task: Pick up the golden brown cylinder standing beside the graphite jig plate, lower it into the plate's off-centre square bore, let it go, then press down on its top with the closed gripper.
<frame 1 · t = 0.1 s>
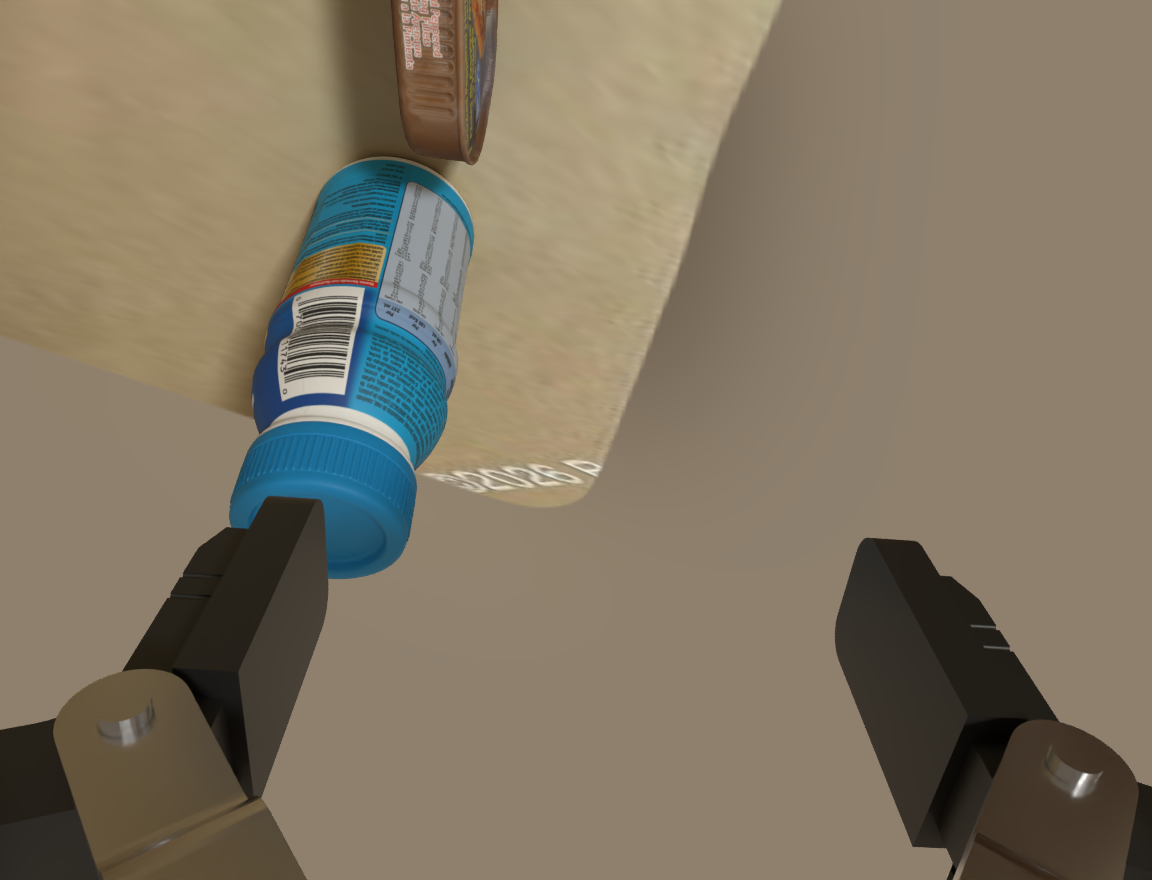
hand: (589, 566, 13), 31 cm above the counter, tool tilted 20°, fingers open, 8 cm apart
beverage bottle: (398, 218, 46), on the counter
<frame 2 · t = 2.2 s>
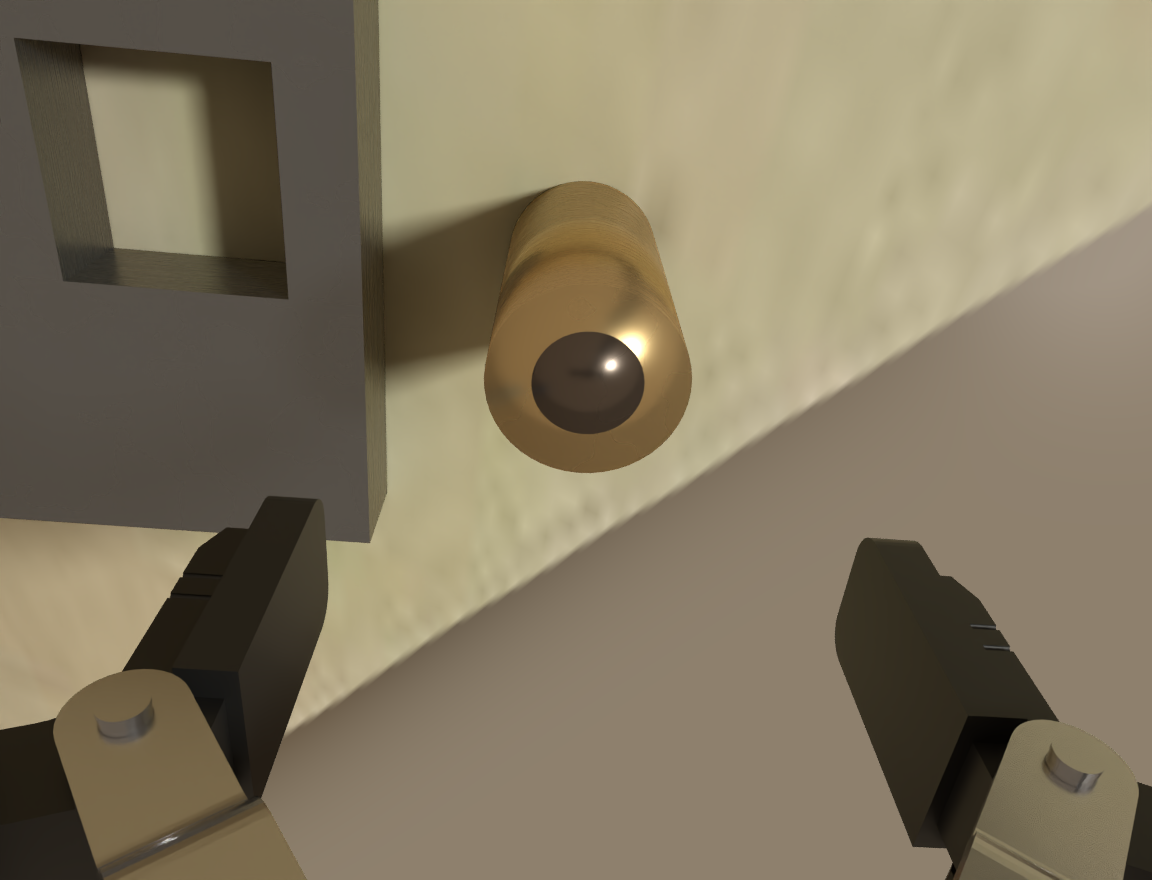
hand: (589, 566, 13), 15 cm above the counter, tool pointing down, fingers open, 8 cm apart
golden brown cylinder: (582, 255, 26), on the counter
jig: (113, 248, 26), on the counter
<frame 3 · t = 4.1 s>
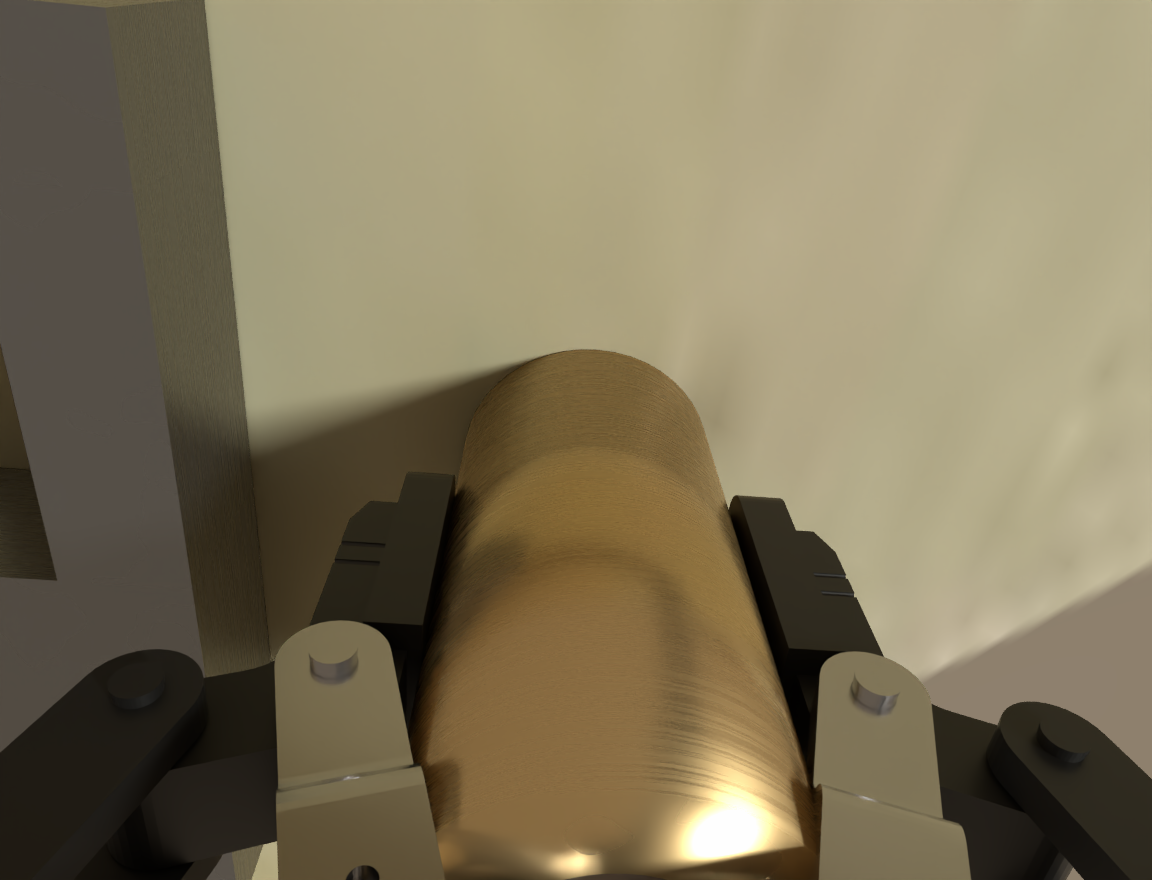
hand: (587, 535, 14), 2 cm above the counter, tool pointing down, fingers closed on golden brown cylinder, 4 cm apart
golden brown cylinder: (585, 461, 16), on the counter, touching gripper
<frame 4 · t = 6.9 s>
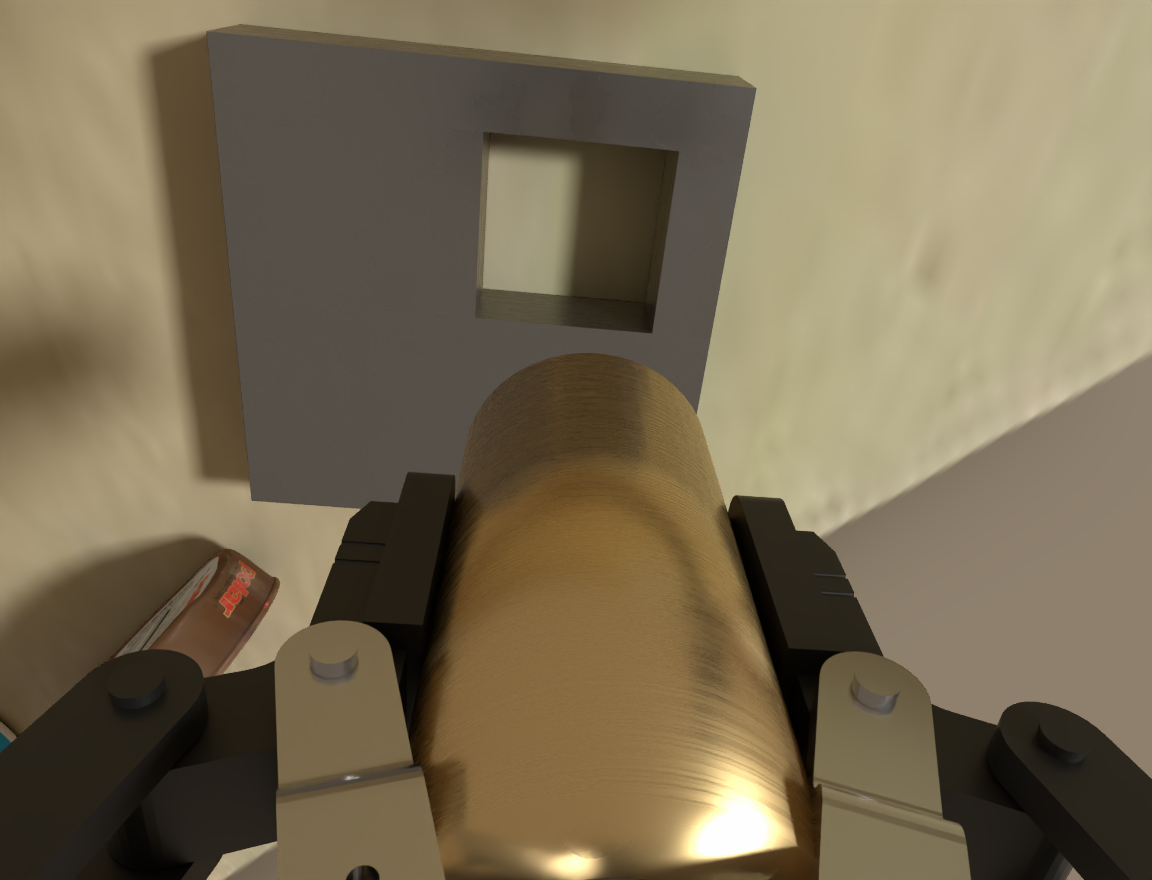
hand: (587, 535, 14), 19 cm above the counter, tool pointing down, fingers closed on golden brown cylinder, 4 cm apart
golden brown cylinder: (585, 464, 16), point 17 cm above the counter, touching gripper
tin: (178, 619, 40), on the counter
jig: (482, 288, 32), on the counter
when the fingers open (4 cm above the counter, at t = 9.5 s): golden brown cylinder drops 1 cm, resting in jig.
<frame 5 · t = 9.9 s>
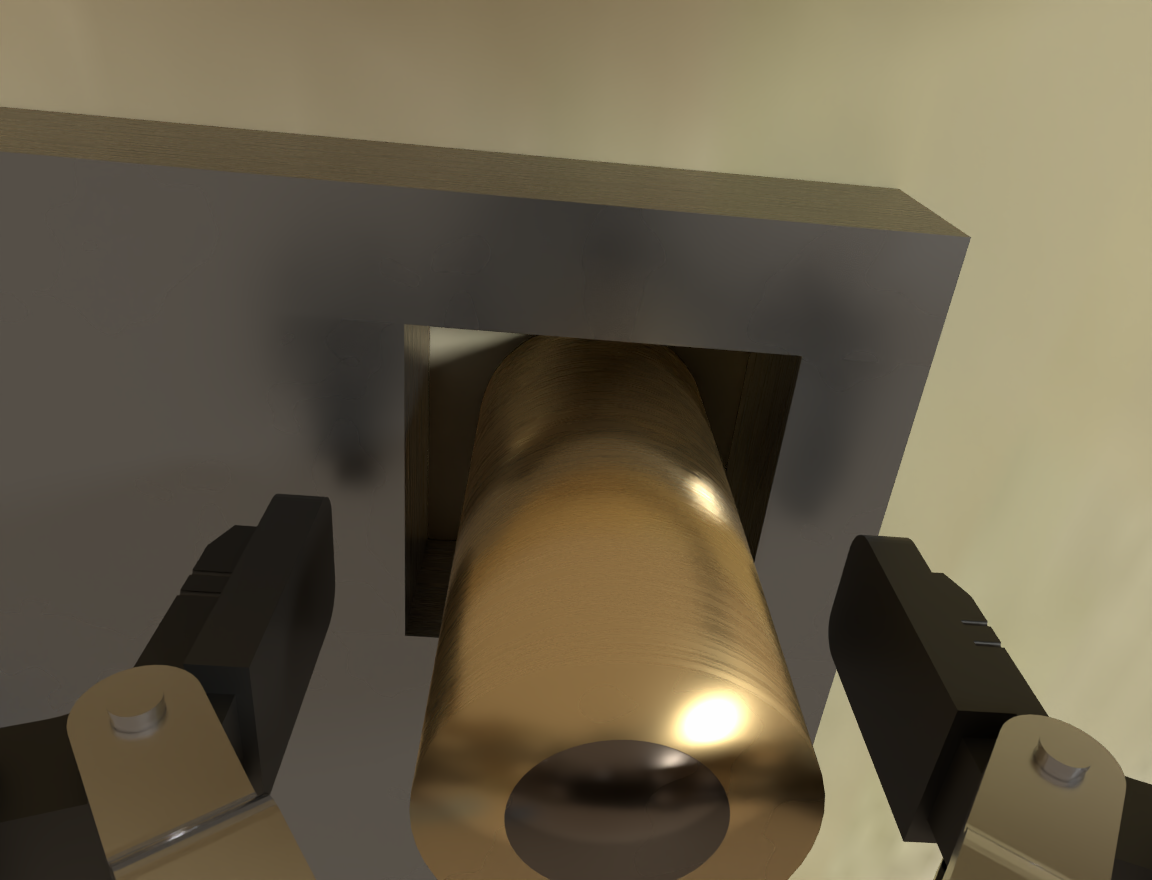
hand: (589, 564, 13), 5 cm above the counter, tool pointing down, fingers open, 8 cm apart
golden brown cylinder: (591, 426, 17), resting in jig
jig: (427, 539, 18), on the counter
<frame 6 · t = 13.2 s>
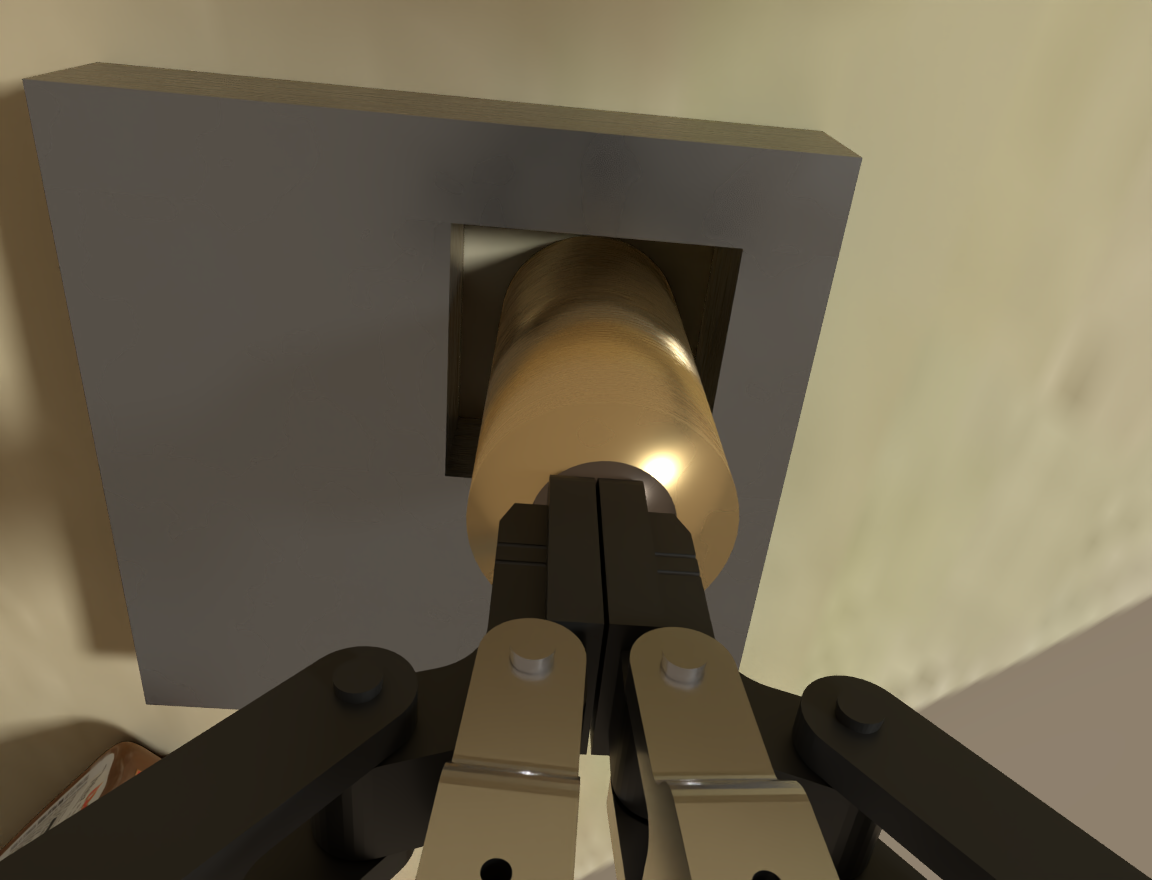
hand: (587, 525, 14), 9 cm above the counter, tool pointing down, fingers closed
golden brown cylinder: (589, 322, 22), resting in jig, touching gripper
tin: (77, 811, 31), on the counter
jig: (458, 417, 23), on the counter
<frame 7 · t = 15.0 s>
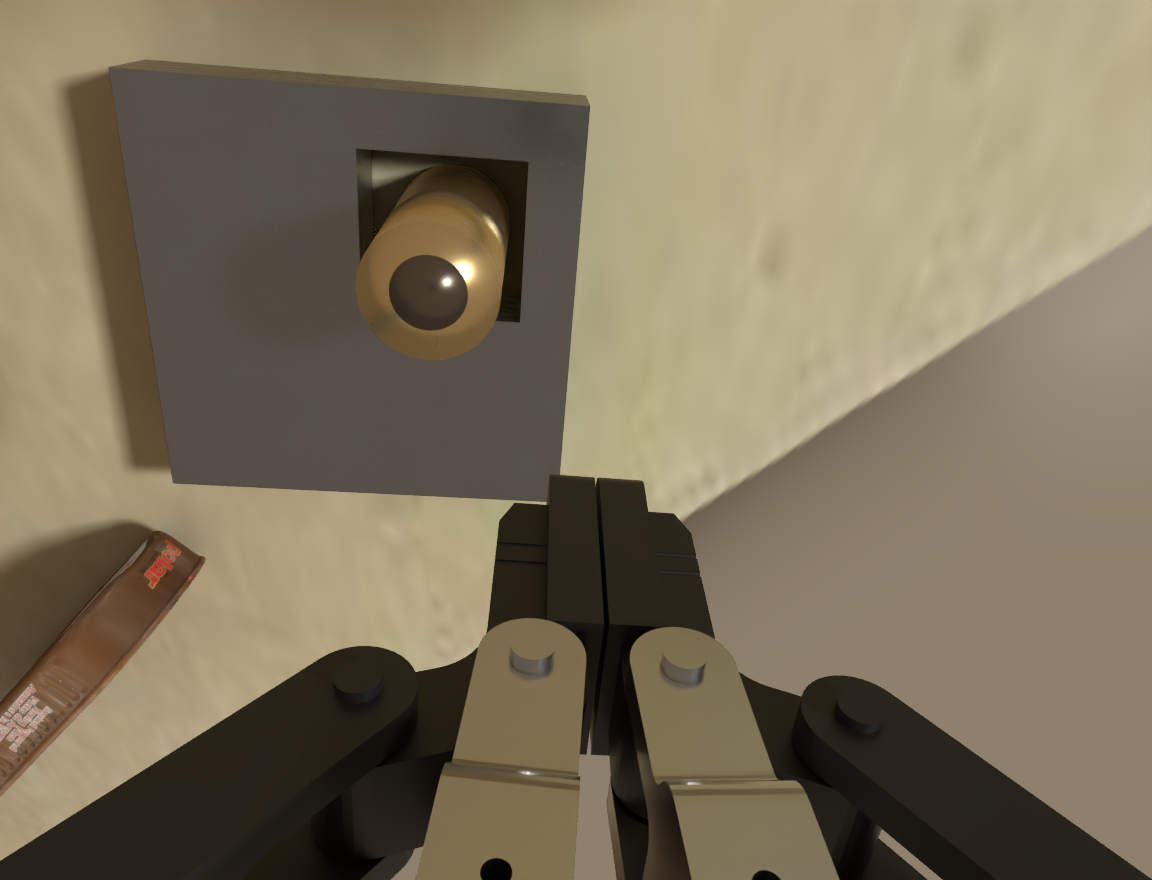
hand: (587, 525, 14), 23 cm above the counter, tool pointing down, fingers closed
golden brown cylinder: (454, 221, 35), resting in jig
tin: (118, 601, 43), on the counter
jig: (375, 287, 36), on the counter
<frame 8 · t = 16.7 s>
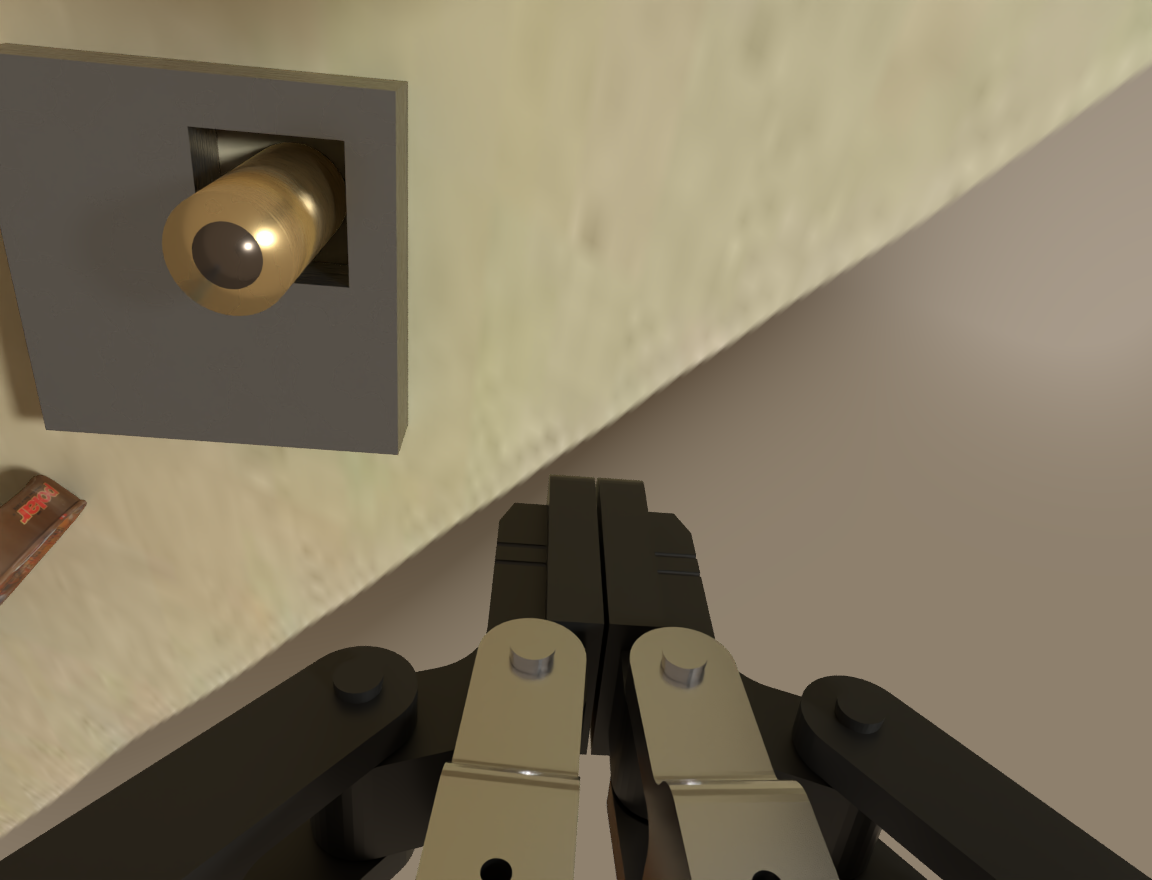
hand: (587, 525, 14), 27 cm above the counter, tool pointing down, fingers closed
golden brown cylinder: (296, 194, 38), resting in jig
tin: (15, 541, 47), on the counter
jig: (228, 254, 39), on the counter
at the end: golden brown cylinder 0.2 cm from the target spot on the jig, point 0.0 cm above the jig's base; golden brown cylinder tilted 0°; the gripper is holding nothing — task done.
